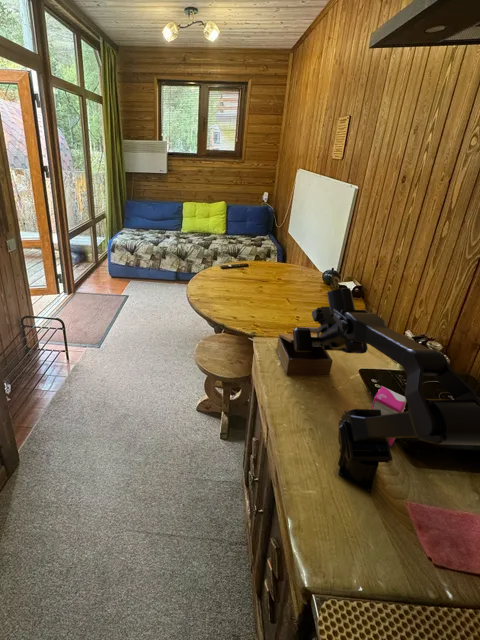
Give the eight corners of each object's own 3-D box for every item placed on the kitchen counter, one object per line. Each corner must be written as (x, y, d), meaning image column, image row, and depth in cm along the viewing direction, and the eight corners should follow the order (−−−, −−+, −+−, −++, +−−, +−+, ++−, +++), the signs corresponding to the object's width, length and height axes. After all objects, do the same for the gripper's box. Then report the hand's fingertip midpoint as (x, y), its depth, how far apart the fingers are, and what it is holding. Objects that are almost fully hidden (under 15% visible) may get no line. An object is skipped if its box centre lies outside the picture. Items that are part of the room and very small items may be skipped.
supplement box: (372, 419, 81) (382, 384, 78) (397, 434, 77) (409, 398, 74) (364, 432, 78) (374, 396, 74) (390, 448, 74) (402, 411, 70)
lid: (335, 343, 93) (335, 329, 94) (291, 342, 93) (290, 328, 94) (317, 337, 107) (317, 324, 107) (278, 336, 107) (278, 323, 107)
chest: (329, 375, 97) (332, 360, 95) (286, 374, 97) (288, 359, 95) (314, 350, 109) (317, 336, 107) (276, 349, 109) (278, 335, 107)
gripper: (371, 304, 80) (343, 319, 94) (299, 302, 80) (282, 317, 94) (381, 348, 75) (351, 357, 89) (305, 346, 75) (287, 355, 89)
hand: (317, 345), depth 90 cm, fingers open, 9 cm apart
